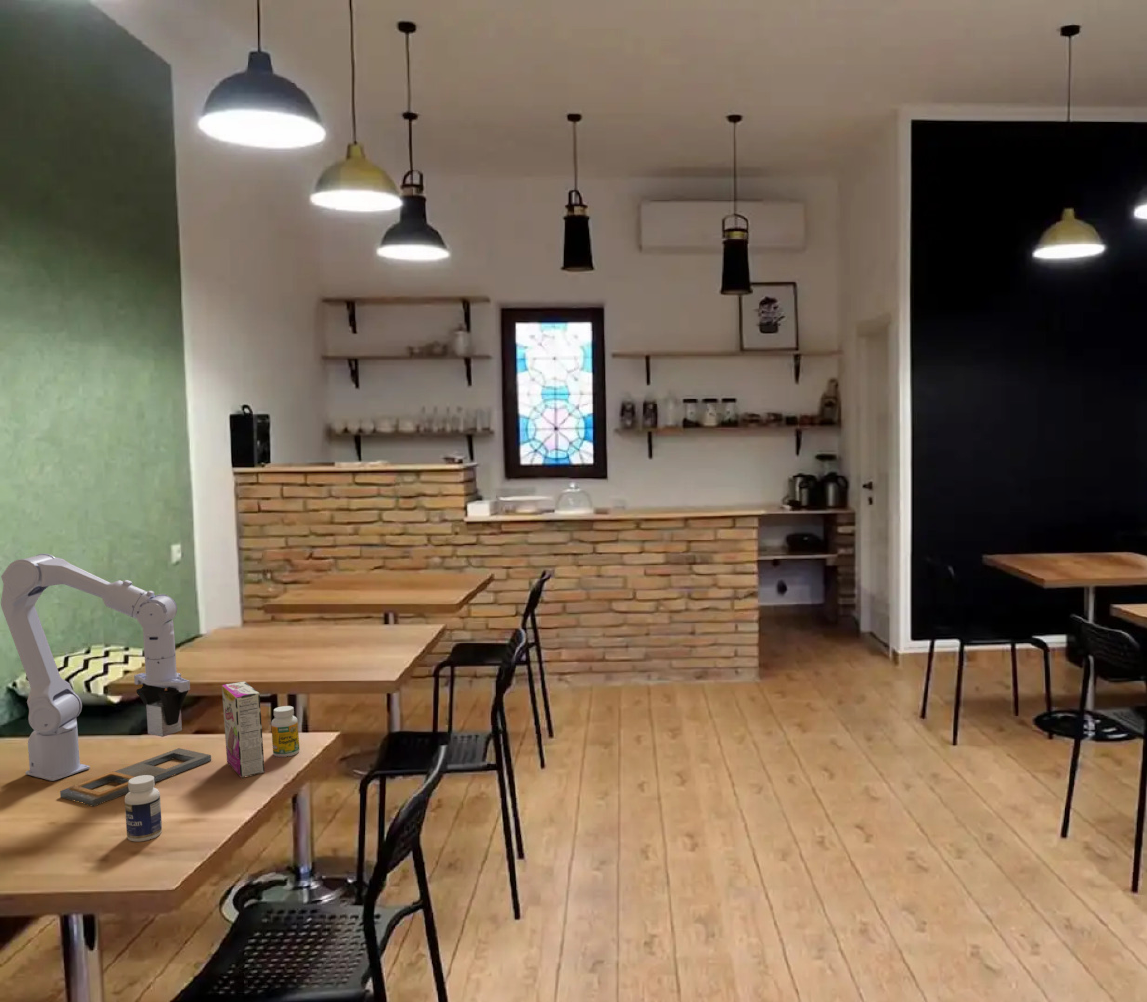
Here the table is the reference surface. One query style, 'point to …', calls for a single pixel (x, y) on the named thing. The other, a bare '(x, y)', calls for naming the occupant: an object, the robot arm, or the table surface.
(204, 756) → the rail
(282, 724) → the supplement bottle
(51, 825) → the table surface
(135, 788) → the pill bottle
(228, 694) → the candy bar box
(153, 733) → the metal block with knob
